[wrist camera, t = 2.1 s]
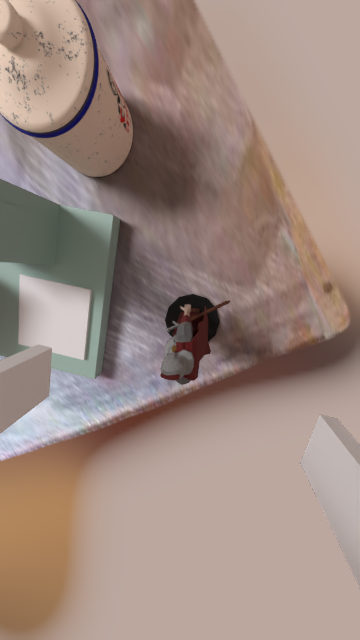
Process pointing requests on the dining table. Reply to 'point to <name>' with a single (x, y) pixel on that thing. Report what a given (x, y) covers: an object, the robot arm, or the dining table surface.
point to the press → (55, 279)
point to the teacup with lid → (61, 85)
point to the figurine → (188, 336)
